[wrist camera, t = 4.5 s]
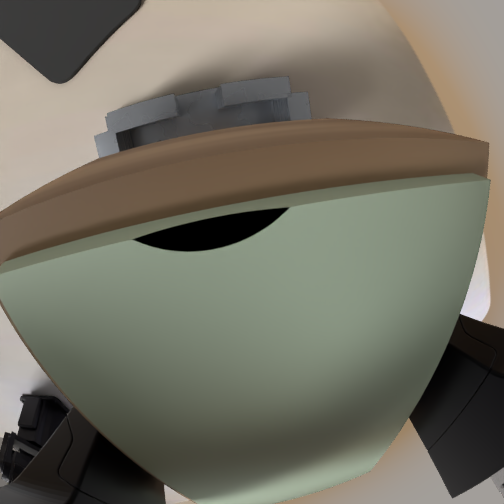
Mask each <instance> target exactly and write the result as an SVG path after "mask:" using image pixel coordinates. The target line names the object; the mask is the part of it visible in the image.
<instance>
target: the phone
mask: <svg viewBox="0 0 504 504" xmlns="http://www.w3.org/2000/svg"><path fill="white" fill-rule="evenodd" d="M141 1H142V0H0V39H1V40H2V41H4V42H5V43H6V44H7V45H8V46H9V47H11V48H12V49H13V50H14V51H15V52H17V53H18V54H19V55H20V56H21V57H22V58H24V59H25V60H26V61H27V62H28V63H29V64H31V65H32V66H33V67H34V68H35V69H36V70H38V71H39V72H40V73H41V74H42V75H44V76H45V77H46V78H47V79H48V80H50V81H51V82H54V83H58V84H62V83H65V82H67V81H69V80H70V79H72V78H73V77H74V76H75V75H76V74H77V72H78V71H79V70H80V69H81V68H82V66H83V65H84V64H85V63H86V62H87V61H88V59H89V58H90V57H91V56H92V55H93V54H94V53H95V52H96V51H97V49H98V48H99V47H100V46H101V45H102V44H103V43H104V42H105V41H106V40H107V39H108V38H109V37H110V36H111V35H112V34H113V33H114V32H115V31H116V30H117V29H118V28H119V27H120V26H121V25H122V24H123V23H124V22H125V21H126V20H127V19H128V18H130V17H131V16H132V15H133V14H134V13H135V12H136V11H137V10H138V8H139V7H140V5H141Z"/></svg>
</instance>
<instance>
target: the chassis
mask: <svg viewBox="0 0 504 504" xmlns="http://www.w3.org/2000/svg"><path fill="white" fill-rule="evenodd" d="M105 118H106V123H107V128H108V131H107V132H104V133H101V134H99V135H96V136H94V138H95V142H96V147H97V151H98V155H99V158H101V157H105V156H108V155H111V154H115V153H118V152H121V151H125V150H128V149H132V148H136V147H140V146H143V145H147V144H151V143H156V142H160V141H164V140H168V139H173V138H177V137H182V136H187V135H192V134H197V133H202V132H208V131H214V130H220V129H226V128H232V127H239V126H247V125H254V124H263V123H272V122H282V121H293V120H307V119H311V111H310V104H309V97H308V92H297V93H291V88H290V82H289V76H287V77H274V78H263V79H254V80H245V81H238V82H231V83H225V84H220V86H219V87H218V88H212V89H207V90H202V91H197V92H192V93H187V94H183V95H178V96H175V95H174V94H170V95H166V96H162V97H158V98H154V99H151V100H147V101H144V102H140V103H137V104H134V105H130V106H127V107H124V108H121V109H118V110H115V111H112V112H109V113H107V116H106V117H105Z"/></svg>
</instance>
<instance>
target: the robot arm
mask: <svg viewBox="0 0 504 504" xmlns="http://www.w3.org/2000/svg"><path fill="white" fill-rule="evenodd" d="M20 401H21V402H22V403H23V404H24V405H23V408H22V411H21V414H20V418H19V421H18V426H19V431H18V434H17V435H16V433H14V432H12V433H11V434H10V433H7V432H5V434H4V438H3V442H2V446H1V450H0V470H1V473H2V477H1V479H3V480H4V481H6V482H7V485H5V486H3V487H0V504H166V501H165V492H164V483H162V482H161V481H159V480H158V479H156V478H155V477H153V476H152V475H151V474H149V473H148V472H147V471H145V470H144V469H143V468H141V467H140V466H139V465H137V464H136V463H135V462H133V461H132V460H131V459H130V458H128V457H127V456H126V455H125V454H124V453H122V452H121V451H120V450H119V449H118V448H116V447H115V446H114V445H113V444H112V443H111V442H110V441H108V440H107V439H106V438H105V437H104V436H103V435H102V434H101V433H100V432H99V431H98V430H97V429H96V428H95V427H93V426H92V425H91V424H90V423H89V422H88V421H87V420H86V419H85V418H84V417H83V416H82V415H81V413H80V412H79V411H78V410H77V409H76V408H75V407H74V406H73V407H72V409H71V410H70V411H69V410H68V409H67V408H66V407H65V406H64V405H63V404H62V403H61V402H60V401H59V400H58V399H57V398H55V397H35V396H21V397H20ZM409 418H410V420H411V422H412V424H413V426H414V428H415V429H416V431H417V433H418V435H419V436H420V438H421V440H422V442H423V443H424V445H425V447H426V449H427V450H428V453H429V455H430V457H431V459H432V461H433V462H434V464H435V466H436V468H437V470H438V472H439V474H440V476H441V478H442V480H443V482H444V484H445V486H446V487H447V490H448V492H449V494H450V495H451V497H452V498H454V497H456V496H458V495H460V494H462V493H464V492H465V491H467V490H469V489H471V488H473V487H474V486H476V485H478V484H479V483H481V482H482V481H484V480H486V479H487V478H489V477H491V479H492V480H493V482H494V484H495V485H496V487H497V489H498V490H499V492H501V494H502V496H503V497H504V329H503V328H499V327H496V326H493V325H490V324H487V323H484V322H481V321H478V320H475V319H472V318H470V317H467V316H464V315H462V314H459V317H458V320H457V322H456V325H455V327H454V330H453V332H452V335H451V337H450V339H449V342H448V344H447V346H446V349H445V351H444V353H443V355H442V357H441V360H440V362H439V364H438V366H437V368H436V370H435V372H434V374H433V376H432V378H431V380H430V382H429V383H428V385H427V387H426V389H425V391H424V393H423V394H422V396H421V398H420V400H419V401H418V403H417V405H416V406H415V408H414V410H413V411H412V413H411V415H410V416H409ZM13 448H14V449H16V450H18V452H17V451H14V450H12V449H13Z"/></svg>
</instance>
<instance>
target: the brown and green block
mask: <svg viewBox="0 0 504 504" xmlns="http://www.w3.org/2000/svg"><path fill="white" fill-rule="evenodd" d="M488 156H489V143H488V142H484V141H480V140H477V139H472V138H468V137H464V136H459V135H455V134H451V133H446V132H441V131H436V130H430V129H425V128H418V127H412V126H405V125H398V124H390V123H382V122H372V121H361V120H347V119H329V118H326V119H307V120H293V121H282V122H272V123H263V124H254V125H247V126H239V127H232V128H226V129H220V130H214V131H208V132H202V133H197V134H192V135H187V136H182V137H177V138H173V139H168V140H164V141H160V142H156V143H151V144H147V145H143V146H140V147H136V148H132V149H128V150H125V151H121V152H118V153H115V154H111V155H108V156H105V157H101V158H99V159H96V160H94V161H92V162H90V163H88V164H85V165H83V166H81V167H79V168H77V169H75V170H73V171H71V172H69V173H67V174H65V175H63V176H61V177H59V178H57V179H55V180H53V181H51V182H50V183H48V184H46V185H44V186H42V187H40V188H39V189H37V190H35V191H33V192H32V193H30V194H28V195H27V196H25V197H23V198H22V199H20V200H18V201H17V202H15V203H13V204H12V205H10V206H9V207H7V208H6V209H4V210H3V211H1V212H0V305H1V307H2V309H3V310H4V312H5V314H6V316H7V317H8V319H9V321H10V322H11V324H12V326H13V327H14V329H15V330H16V332H17V334H18V335H19V337H20V338H21V340H22V341H23V343H24V344H25V346H26V347H27V349H28V350H29V352H30V353H31V354H32V356H33V357H34V359H35V360H36V361H37V363H38V364H39V365H40V367H41V368H42V369H43V371H44V372H45V373H46V374H47V376H48V377H49V378H50V379H51V381H52V382H53V383H54V384H55V386H56V387H57V388H58V389H59V390H60V391H61V393H62V394H63V395H64V396H65V397H66V398H67V399H68V401H69V402H70V403H71V404H72V405H73V406H74V407H75V408H76V409H77V410H78V411H79V412H80V413H81V415H82V416H83V417H84V418H85V419H86V420H87V421H88V422H89V423H90V424H91V425H92V426H93V427H95V428H96V429H97V430H98V431H99V432H100V433H101V434H102V435H103V436H104V437H105V438H106V439H107V440H108V441H110V442H111V443H112V444H113V445H114V446H115V447H116V448H118V449H119V450H120V451H121V452H122V453H124V454H125V455H126V456H127V457H128V458H130V459H131V460H132V461H133V462H135V463H136V464H137V465H139V466H140V467H141V468H143V469H144V470H145V471H147V472H148V473H149V474H151V475H152V476H153V477H155V478H156V479H158V480H159V481H161V482H162V483H164V484H165V485H167V486H168V487H170V488H171V489H173V490H174V491H176V492H177V493H179V494H181V495H182V496H184V497H185V498H187V499H189V500H190V501H192V502H194V503H196V504H274V503H279V502H283V501H287V500H291V499H295V498H298V497H302V496H305V495H309V494H312V493H315V492H318V491H321V490H324V489H327V488H330V487H332V486H335V485H338V484H341V483H343V482H346V481H349V480H351V479H353V478H356V477H358V476H361V475H363V474H365V473H368V472H370V471H371V469H372V468H373V467H374V466H375V465H376V463H377V462H378V461H379V459H380V458H381V457H382V455H383V454H384V453H385V451H386V450H387V449H388V447H389V446H390V445H391V443H392V441H393V440H394V439H395V438H396V436H397V435H398V433H399V432H400V430H401V429H402V427H403V426H404V424H405V422H406V421H407V419H408V418H409V416H410V415H411V413H412V411H413V410H414V408H415V406H416V405H417V403H418V401H419V400H420V398H421V396H422V394H423V393H424V391H425V389H426V387H427V385H428V383H429V382H430V380H431V378H432V376H433V374H434V372H435V370H436V368H437V366H438V364H439V362H440V360H441V357H442V355H443V353H444V351H445V349H446V346H447V344H448V342H449V339H450V337H451V335H452V332H453V330H454V327H455V325H456V322H457V320H458V317H459V314H460V312H461V309H462V306H463V303H464V300H465V297H466V294H467V291H468V288H469V285H470V281H471V278H472V274H473V271H474V267H475V264H476V260H477V256H478V252H479V247H480V243H481V238H482V234H483V228H484V223H485V218H486V211H487V205H488V198H489V190H490V181H491V180H490V179H487V172H488Z"/></svg>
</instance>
